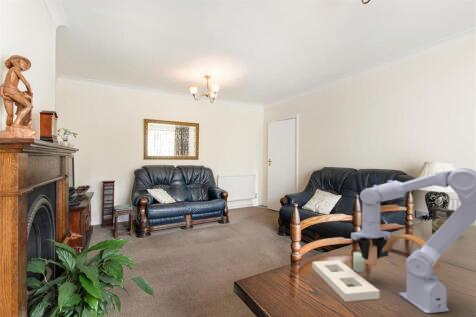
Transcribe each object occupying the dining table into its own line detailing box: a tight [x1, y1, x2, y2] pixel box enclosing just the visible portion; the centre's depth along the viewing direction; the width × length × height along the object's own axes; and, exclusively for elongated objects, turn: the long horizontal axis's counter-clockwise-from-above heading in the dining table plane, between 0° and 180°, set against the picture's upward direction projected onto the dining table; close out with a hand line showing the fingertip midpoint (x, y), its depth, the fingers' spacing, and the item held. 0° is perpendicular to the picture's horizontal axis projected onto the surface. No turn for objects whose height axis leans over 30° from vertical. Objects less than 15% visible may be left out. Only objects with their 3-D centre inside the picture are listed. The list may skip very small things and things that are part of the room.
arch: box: [383, 233, 441, 270], centre depth 104 cm, size 6×20×10 cm, turn 25°
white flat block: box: [311, 259, 380, 303], centre depth 83 cm, size 22×12×2 cm, turn 9°
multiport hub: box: [359, 248, 389, 258], centre depth 105 cm, size 4×14×2 cm, turn 110°
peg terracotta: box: [364, 243, 378, 266], centre depth 83 cm, size 4×4×6 cm
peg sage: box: [352, 251, 365, 273], centre depth 92 cm, size 4×4×6 cm
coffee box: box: [431, 207, 456, 236], centre depth 132 cm, size 9×6×16 cm
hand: (370, 258), depth 83 cm, fingers closed on peg terracotta, 4 cm apart
